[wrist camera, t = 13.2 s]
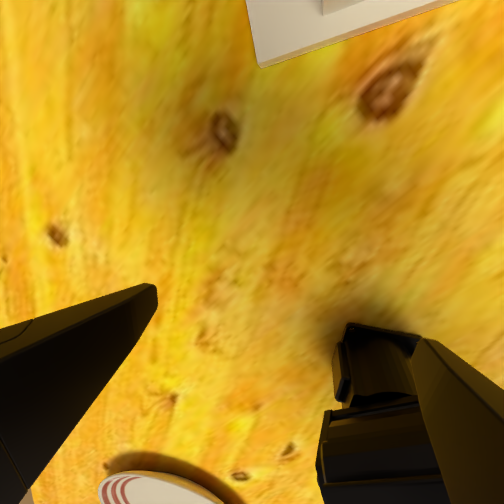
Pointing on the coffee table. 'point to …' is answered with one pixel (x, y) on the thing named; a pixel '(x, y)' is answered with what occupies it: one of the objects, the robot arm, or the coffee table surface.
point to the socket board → (321, 23)
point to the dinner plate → (153, 489)
